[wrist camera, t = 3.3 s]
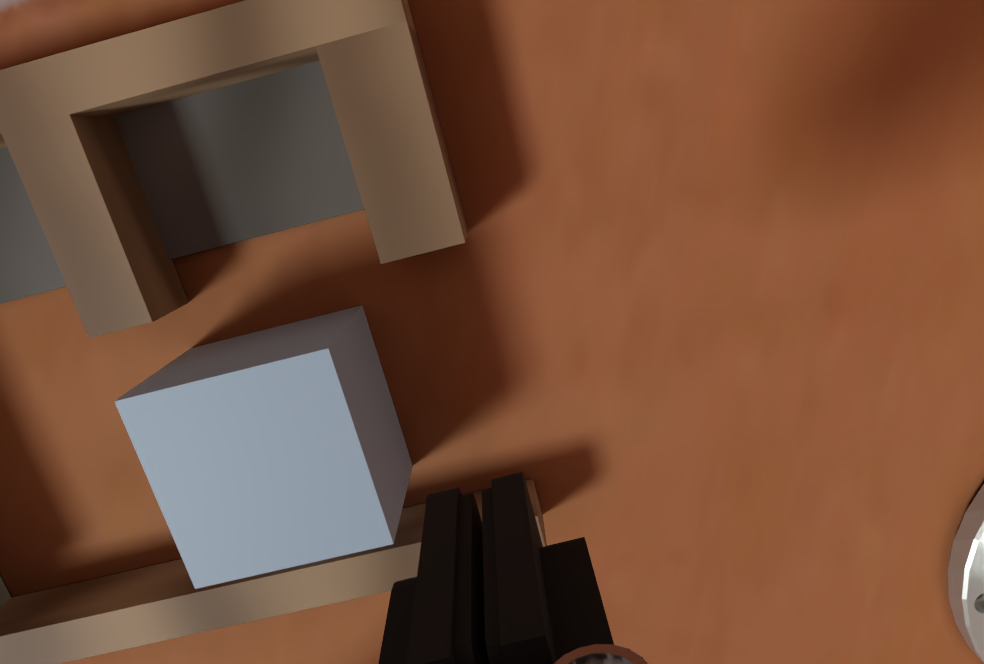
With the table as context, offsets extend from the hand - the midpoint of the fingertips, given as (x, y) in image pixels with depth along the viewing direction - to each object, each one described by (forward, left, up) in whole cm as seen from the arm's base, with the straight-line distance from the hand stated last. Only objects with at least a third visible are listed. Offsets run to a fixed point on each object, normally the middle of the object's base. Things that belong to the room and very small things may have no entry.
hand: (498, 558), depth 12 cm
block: (+7, 0, -12) cm, 14 cm away
